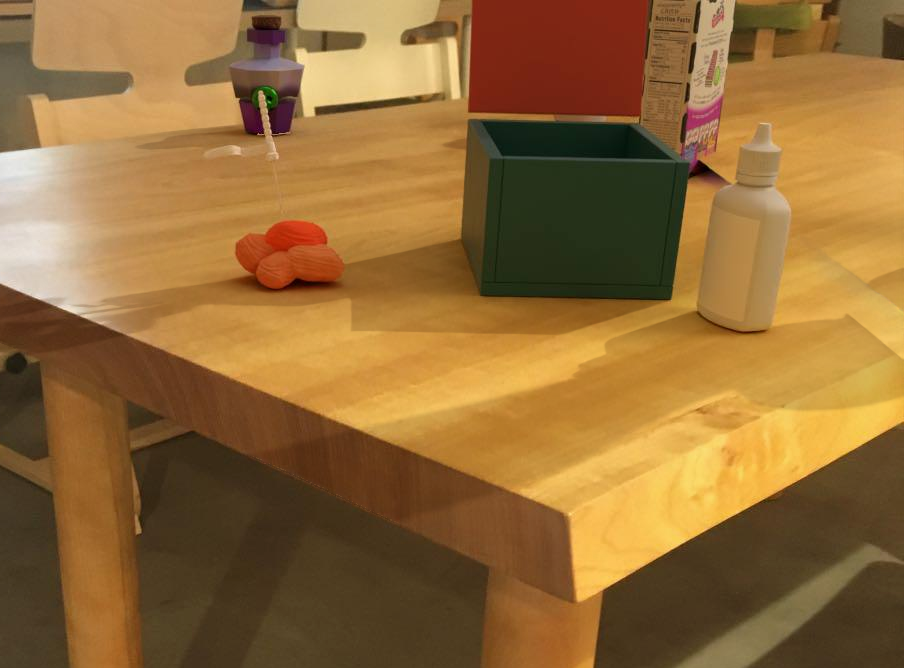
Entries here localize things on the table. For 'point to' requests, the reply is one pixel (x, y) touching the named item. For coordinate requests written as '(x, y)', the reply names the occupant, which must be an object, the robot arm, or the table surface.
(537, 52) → the lid
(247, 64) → the potion bottle
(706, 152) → the candy bar box
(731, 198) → the eye dropper bottle
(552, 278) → the open storage box
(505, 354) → the table surface
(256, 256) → the peanut cluster ornament
